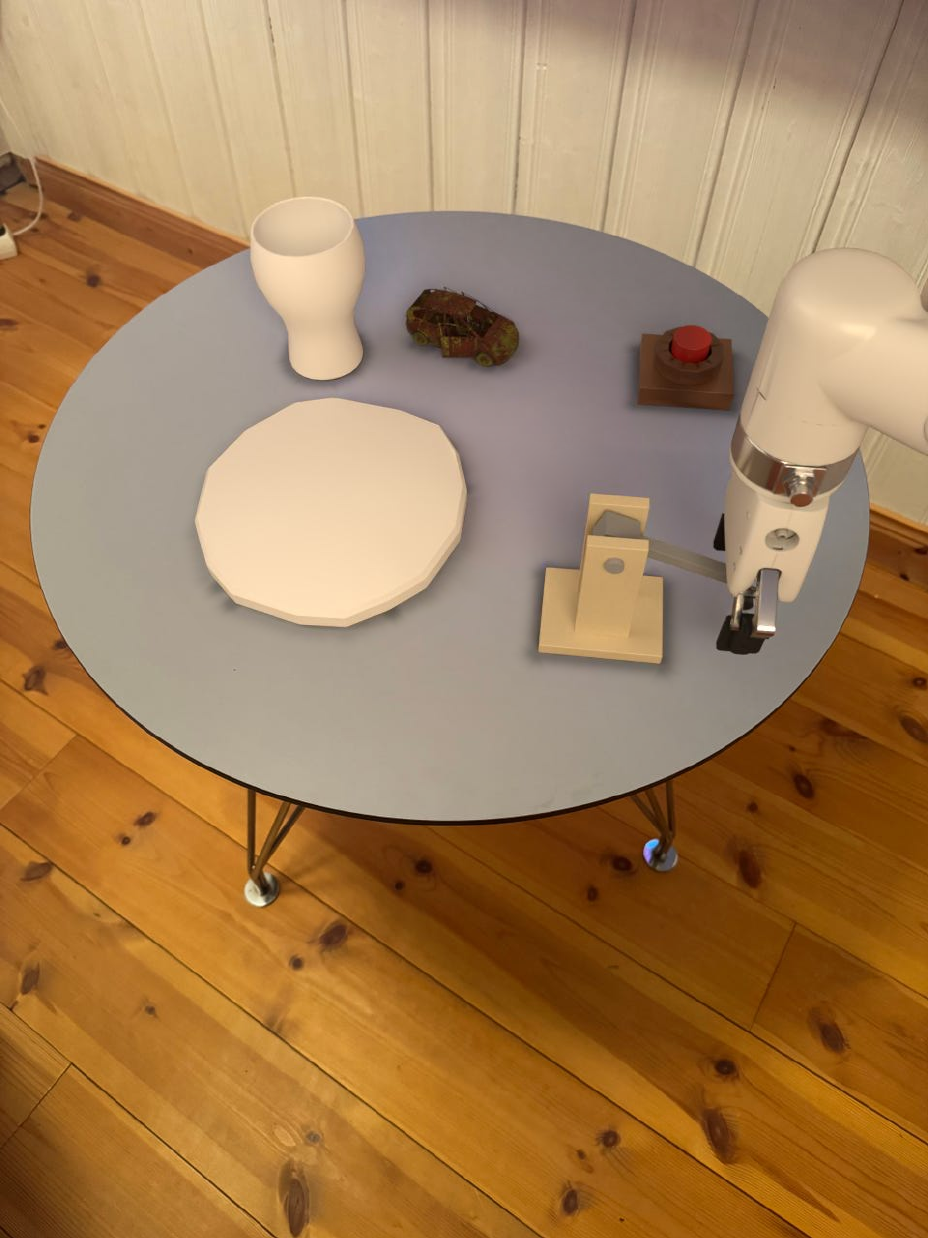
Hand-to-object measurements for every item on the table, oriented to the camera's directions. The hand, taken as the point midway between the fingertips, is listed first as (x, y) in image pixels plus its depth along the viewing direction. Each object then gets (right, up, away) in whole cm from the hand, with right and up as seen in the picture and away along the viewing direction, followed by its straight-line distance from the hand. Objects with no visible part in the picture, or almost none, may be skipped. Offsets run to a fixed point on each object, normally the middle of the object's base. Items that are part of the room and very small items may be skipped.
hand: (734, 596), depth 73 cm
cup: (-36, +26, +24) cm, 50 cm away
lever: (-6, +2, -2) cm, 7 cm away
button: (+1, +25, +18) cm, 30 cm away
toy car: (-22, +27, +24) cm, 42 cm away
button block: (+1, +23, +21) cm, 31 cm away
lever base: (-10, -2, +5) cm, 11 cm away
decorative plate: (-34, +8, +12) cm, 37 cm away
